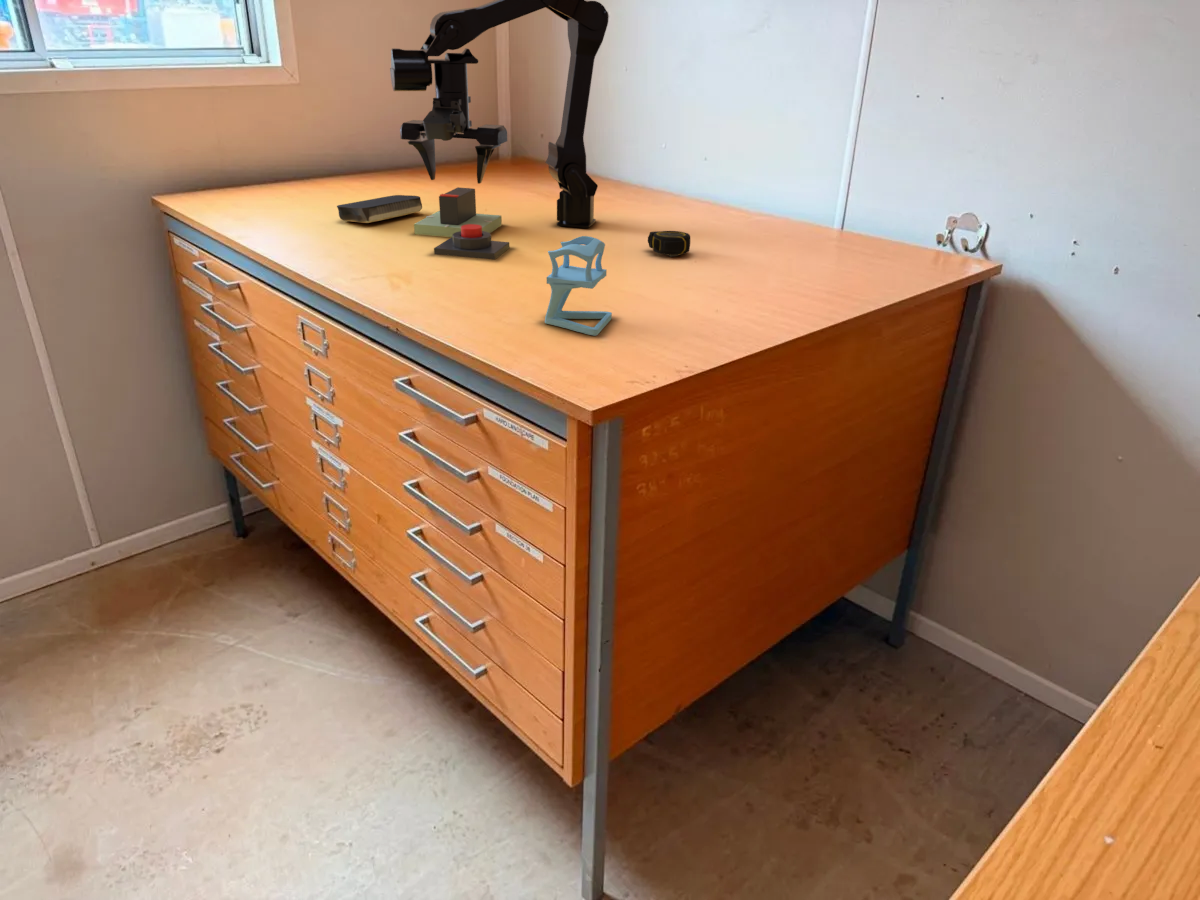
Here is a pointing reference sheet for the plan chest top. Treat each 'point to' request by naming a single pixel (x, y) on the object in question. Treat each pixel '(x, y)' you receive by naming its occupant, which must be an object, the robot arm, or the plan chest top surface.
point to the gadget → (457, 206)
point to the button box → (472, 247)
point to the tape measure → (669, 242)
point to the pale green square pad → (435, 228)
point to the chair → (575, 284)
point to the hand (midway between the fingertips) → (456, 181)
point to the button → (471, 231)
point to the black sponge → (380, 208)
